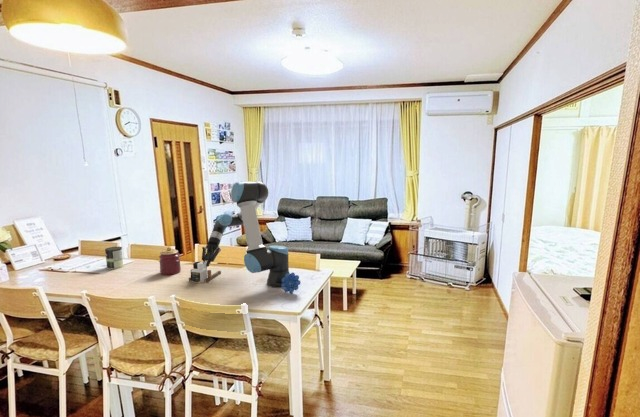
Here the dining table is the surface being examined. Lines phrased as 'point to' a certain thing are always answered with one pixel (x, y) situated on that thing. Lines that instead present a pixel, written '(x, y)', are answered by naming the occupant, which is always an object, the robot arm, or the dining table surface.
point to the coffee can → (114, 257)
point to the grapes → (290, 282)
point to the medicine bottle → (198, 273)
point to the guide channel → (209, 275)
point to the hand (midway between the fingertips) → (203, 270)
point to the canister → (169, 262)
